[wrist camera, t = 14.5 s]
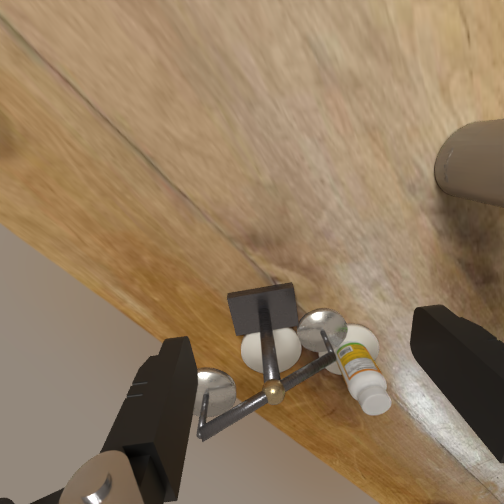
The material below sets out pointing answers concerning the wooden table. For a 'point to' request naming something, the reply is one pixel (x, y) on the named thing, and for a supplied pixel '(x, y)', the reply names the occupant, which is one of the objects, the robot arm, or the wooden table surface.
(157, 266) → the wooden table surface
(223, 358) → the wooden table surface
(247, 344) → the dish high side
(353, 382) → the supplement bottle
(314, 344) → the balance
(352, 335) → the dish low side
